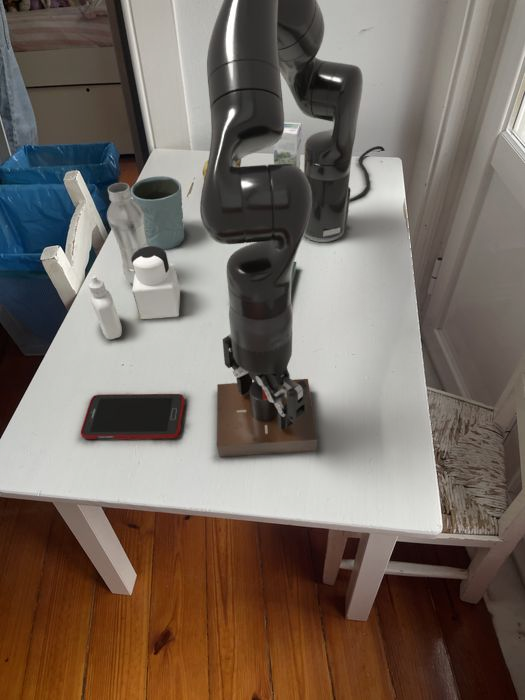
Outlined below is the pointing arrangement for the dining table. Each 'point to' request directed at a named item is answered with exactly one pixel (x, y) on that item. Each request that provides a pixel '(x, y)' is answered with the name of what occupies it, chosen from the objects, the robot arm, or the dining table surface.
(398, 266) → the dining table surface
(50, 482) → the dining table surface
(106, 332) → the eye dropper bottle
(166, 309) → the medicine bottle
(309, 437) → the dial panel
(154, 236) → the teal plant pot
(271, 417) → the dial
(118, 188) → the plastic bottle
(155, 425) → the cell phone
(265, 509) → the dining table surface
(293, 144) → the syrup box
